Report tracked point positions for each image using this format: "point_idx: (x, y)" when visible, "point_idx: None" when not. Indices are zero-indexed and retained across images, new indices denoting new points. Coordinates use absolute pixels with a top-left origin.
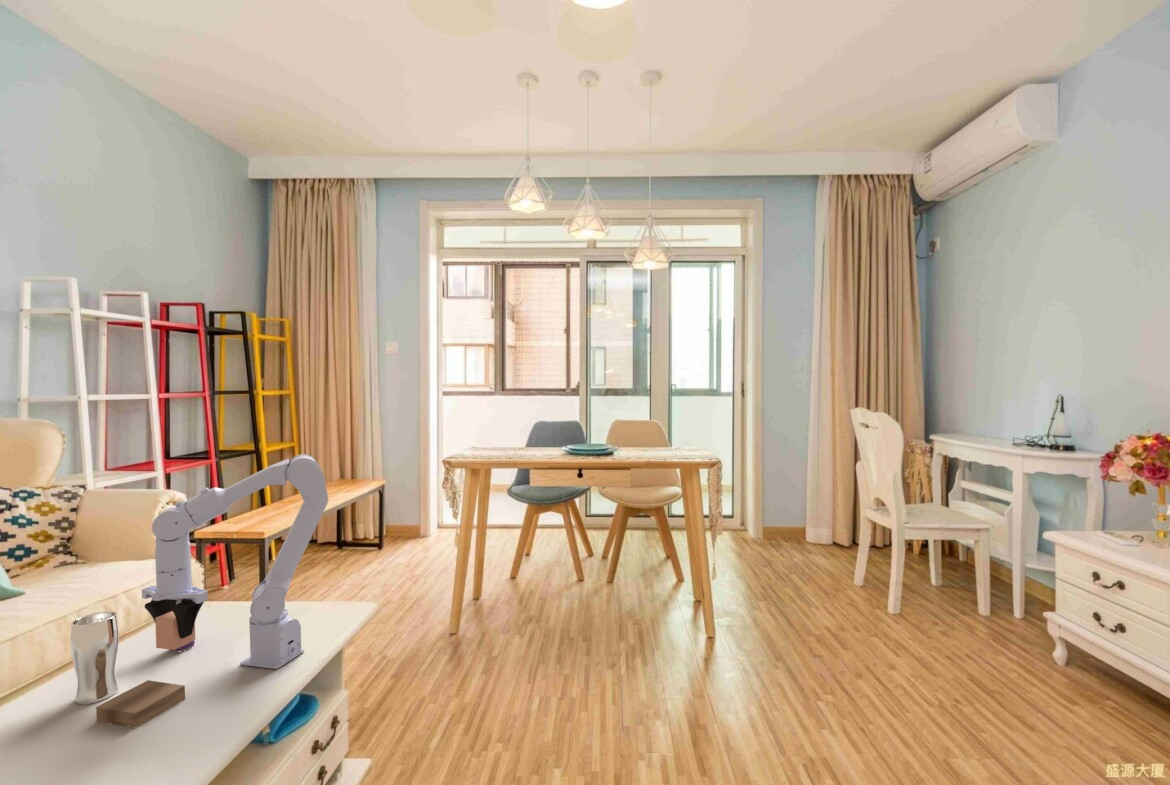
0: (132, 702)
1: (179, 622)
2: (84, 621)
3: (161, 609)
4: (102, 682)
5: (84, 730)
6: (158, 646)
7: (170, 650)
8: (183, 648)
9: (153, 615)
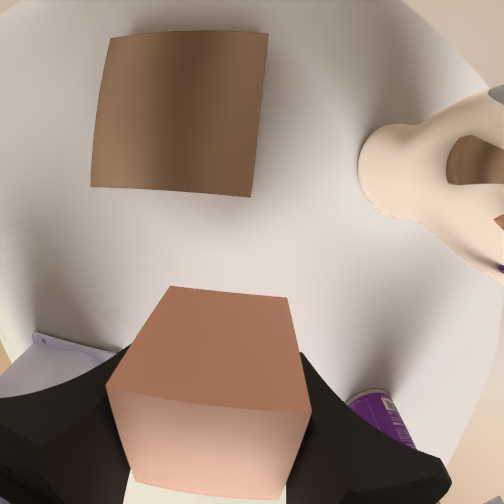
0: (168, 70)
1: (93, 378)
2: None
3: (311, 484)
4: (387, 149)
5: (257, 18)
6: (272, 300)
7: (381, 392)
8: (351, 404)
9: (350, 429)
